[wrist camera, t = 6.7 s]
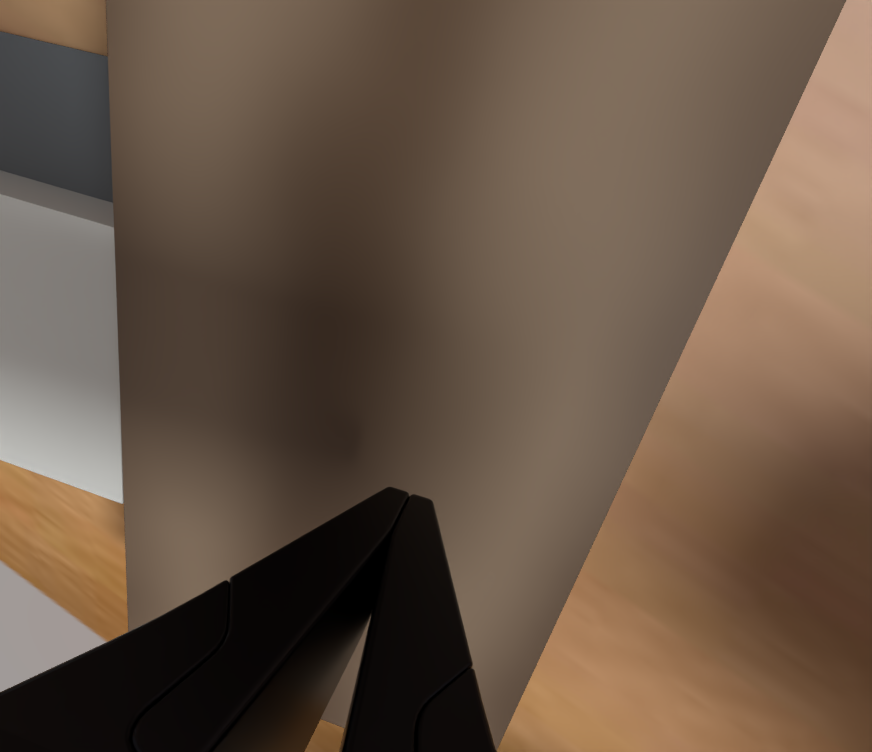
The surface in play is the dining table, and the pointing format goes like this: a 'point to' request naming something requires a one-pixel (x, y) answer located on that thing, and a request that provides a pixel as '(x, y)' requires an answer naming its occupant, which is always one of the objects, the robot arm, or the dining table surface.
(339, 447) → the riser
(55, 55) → the mat
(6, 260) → the coaster
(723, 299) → the dining table surface
